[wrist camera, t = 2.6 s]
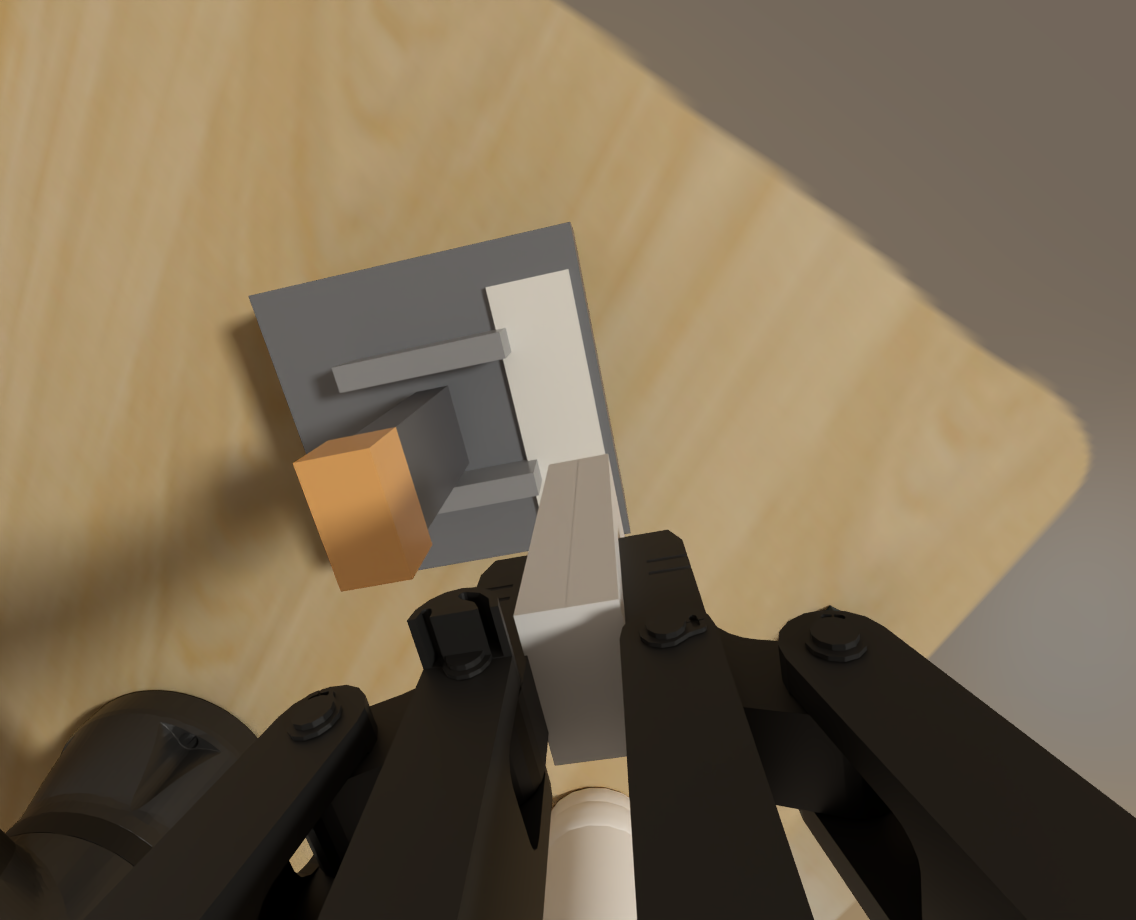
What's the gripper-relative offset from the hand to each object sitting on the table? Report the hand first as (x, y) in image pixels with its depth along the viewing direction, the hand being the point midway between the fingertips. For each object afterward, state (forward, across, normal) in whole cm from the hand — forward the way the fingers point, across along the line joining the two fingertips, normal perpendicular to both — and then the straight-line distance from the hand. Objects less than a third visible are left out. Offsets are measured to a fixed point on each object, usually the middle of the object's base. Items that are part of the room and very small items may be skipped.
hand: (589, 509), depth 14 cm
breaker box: (+21, +8, 0) cm, 22 cm away
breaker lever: (+15, +8, 0) cm, 16 cm away
